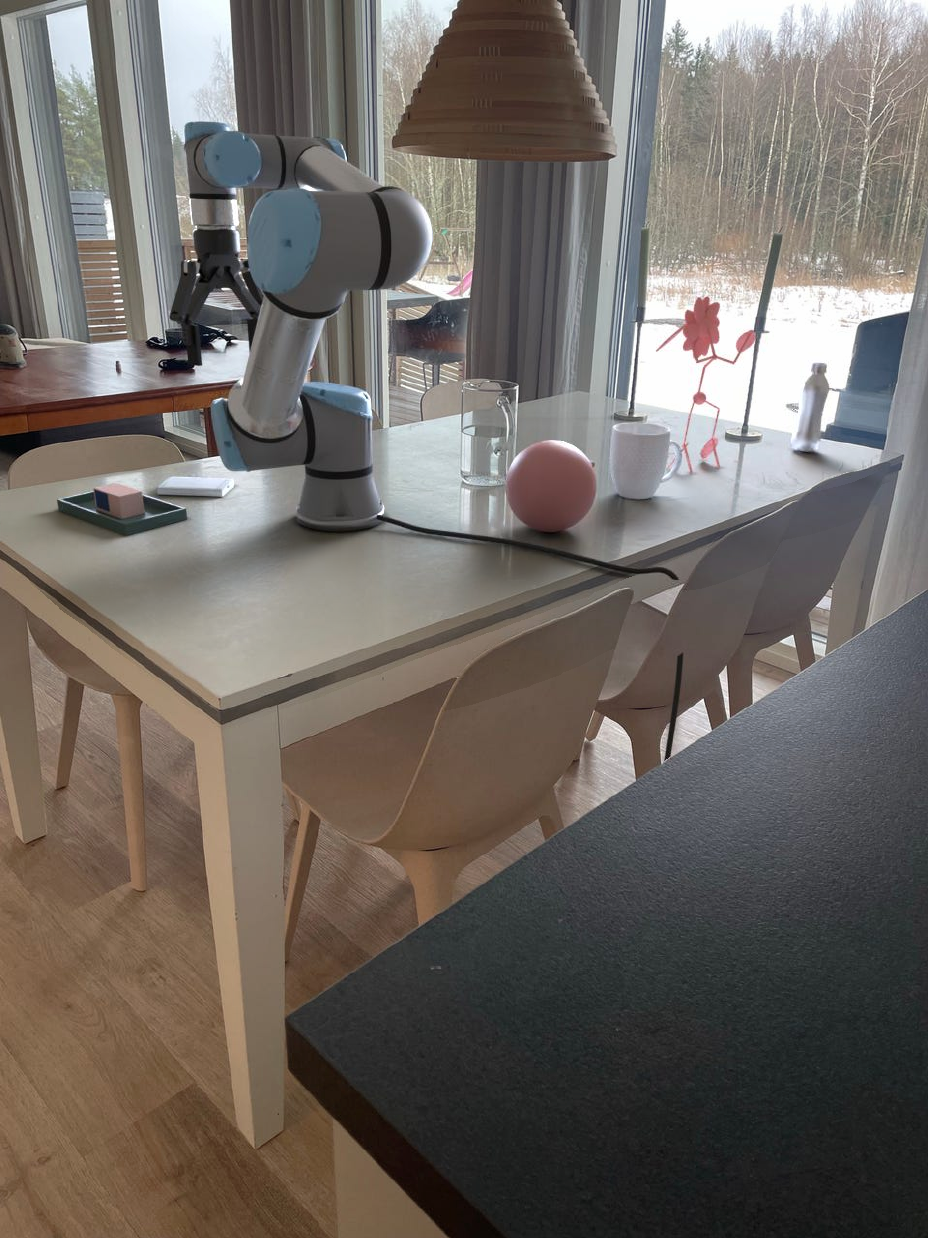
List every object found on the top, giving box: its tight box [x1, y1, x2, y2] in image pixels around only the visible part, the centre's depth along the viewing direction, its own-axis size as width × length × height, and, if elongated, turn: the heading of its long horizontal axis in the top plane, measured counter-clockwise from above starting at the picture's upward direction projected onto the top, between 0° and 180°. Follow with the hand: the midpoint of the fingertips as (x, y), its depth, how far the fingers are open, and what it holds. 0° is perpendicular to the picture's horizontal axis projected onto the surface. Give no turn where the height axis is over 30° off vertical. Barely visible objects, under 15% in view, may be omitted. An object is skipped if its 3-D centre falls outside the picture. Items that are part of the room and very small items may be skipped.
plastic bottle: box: [790, 362, 830, 453], centre depth 214 cm, size 6×7×20 cm
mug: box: [609, 422, 683, 500], centre depth 179 cm, size 15×11×13 cm
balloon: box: [504, 439, 598, 533], centre depth 159 cm, size 15×20×15 cm
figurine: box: [655, 295, 757, 474], centre depth 198 cm, size 15×26×35 cm, turn 127°
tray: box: [56, 490, 188, 537], centre depth 163 cm, size 21×12×2 cm, turn 51°
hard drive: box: [156, 476, 235, 498], centre depth 178 cm, size 2×8×12 cm
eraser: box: [92, 482, 144, 519], centre depth 163 cm, size 8×5×4 cm, turn 51°
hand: (226, 361), depth 161 cm, fingers open, 13 cm apart
